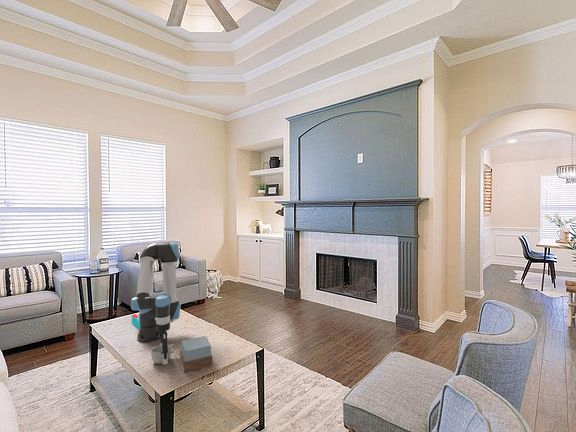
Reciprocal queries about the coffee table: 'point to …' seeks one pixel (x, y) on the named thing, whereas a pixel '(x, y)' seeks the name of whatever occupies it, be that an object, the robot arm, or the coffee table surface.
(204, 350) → the top block
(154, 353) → the teacup
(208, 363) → the base block
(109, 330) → the coffee table surface
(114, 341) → the coffee table surface
